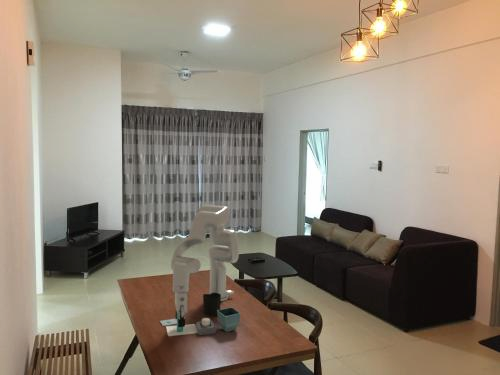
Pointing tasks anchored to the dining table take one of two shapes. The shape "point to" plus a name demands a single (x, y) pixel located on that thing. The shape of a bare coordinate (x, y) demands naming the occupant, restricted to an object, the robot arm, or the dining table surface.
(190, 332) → the paper
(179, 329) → the marker
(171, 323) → the card
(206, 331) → the button box
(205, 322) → the cream ball
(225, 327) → the flower pot
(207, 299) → the pen holder
